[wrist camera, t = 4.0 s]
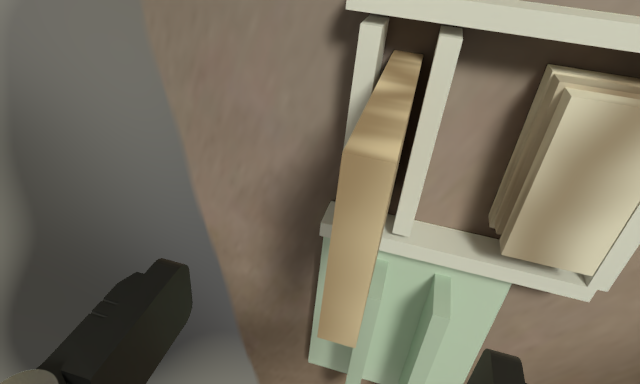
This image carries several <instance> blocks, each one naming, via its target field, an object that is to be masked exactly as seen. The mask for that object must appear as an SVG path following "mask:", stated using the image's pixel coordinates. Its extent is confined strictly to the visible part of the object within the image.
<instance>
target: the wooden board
mask: <svg viewBox="0 0 640 384" xmlns="http://www.w3.org/2000/svg"><path fill="white" fill-rule="evenodd" d="M422 59H423V54H417V53H410V52H404V51H398V50H394V51H393V53H392V55H391V57H390V59H389V61H388V63H387V65H386V67H385V69H384V71H383V73H382V75H381V77H380V79H379V81H378V83H377V85H376V87H375V89H374V91H373V93H372V95H371V97H370V99H369V101H368V103H367V104H366V106H365V108H364V110H363V112H362V114H361V116H360V118H359V120H358V122H357V124H356V126H355V128H354V130H353V132H352V134H351V136H350V138H349V140H348V142H347V144H346V146H345V148H344V150H343V152H342V159H341V166H340V173H339V181H338V188H337V195H336V203H335V210H334V217H333V225H332V232H331V239H330V247H329V254H328V261H327V268H326V276H325V283H324V290H323V298H322V305H321V312H320V320H319V327H318V334H317V337H318V338H321V339H325V340H328V341H332V342H335V343H338V344H342V345H345V346H349V347H352V348H356V344H357V340H358V336H359V331H360V327H361V323H362V319H363V315H364V310H365V306H366V302H367V298H368V294H369V289H370V285H371V281H372V277H373V272H374V268H375V264H376V260H377V256H378V251H379V247H380V243H381V239H382V234H383V230H384V226H385V222H386V218H387V213H388V209H389V205H390V201H391V197H392V192H393V188H394V184H395V179H396V175H397V170H398V166H399V161H400V157H401V153H402V148H403V144H404V139H405V135H406V130H407V126H408V122H409V117H410V113H411V108H412V104H413V99H414V95H415V90H416V86H417V82H418V77H419V73H420V68H421V64H422Z"/></svg>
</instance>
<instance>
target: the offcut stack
mask: <svg viewBox="0 0 640 384" xmlns="http://www.w3.org/2000/svg"><path fill="white" fill-rule="evenodd" d="M639 201H640V78H634V77H627V76H621V75H615V74H608V73H602V72H596V71H589V70H583V69H577V68H570V67H564V66H558V65H551V64H548V65H547V67H546V70H545V72H544V75H543V77H542V80H541V83H540V85H539V88H538V90H537V93H536V95H535V98H534V100H533V103H532V105H531V108H530V111H529V113H528V116H527V118H526V121H525V123H524V126H523V128H522V131H521V134H520V136H519V139H518V141H517V144H516V146H515V149H514V151H513V154H512V156H511V159H510V162H509V164H508V167H507V169H506V172H505V174H504V177H503V179H502V182H501V184H500V187H499V190H498V192H497V195H496V197H495V200H494V202H493V205H492V207H491V210H490V212H489V215H488V218H489V227H490V228H494V229H495V230H496V234H499V235H502V236H501V238H500V240H499V242H500V249H501V255H504V256H508V257H513V258H517V259H521V260H525V261H530V262H534V263H538V264H542V265H546V266H551V267H555V268H559V269H563V270H567V271H572V272H576V273H580V274H584V275H589V276H593V275H594V273H595V271H596V270H597V268H598V267H599V265H600V263H601V262H602V260H603V259H604V257H605V255H606V254H607V252H608V251H609V249H610V247H611V246H612V244H613V243H614V241H615V240H616V238H617V236H618V235H619V233H620V232H621V230H622V228H623V227H624V225H625V224H626V222H627V220H628V219H629V217H630V216H631V214H632V212H633V211H634V209H635V208H636V206H637V205H638V203H639Z"/></svg>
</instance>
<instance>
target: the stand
mask: <svg viewBox="0 0 640 384" xmlns="http://www.w3.org/2000/svg"><path fill="white" fill-rule="evenodd" d="M330 239H331V238H328V237H323V245H322V253H321V261H320V270H319V278H318V286H317V294H316V302H315V310H314V318H313V326H312V334H311V342H310V350H309V358H308V362H310V363H313V364H316V365H320V366H323V367H326V368H329V369H333V370H336V371H339V372H343V373H346V374H347V379H346V383H345V384H360V383H361V379H366V380H369V381H372V382H376V383H379V384H463V383H464V381H465V379H466V377H467V375H468V373H469V371H470V369H471V367H472V365H473V362H474V360H475V358H476V356H477V354H478V352H479V350H480V348H481V346H482V344H483V342H484V340H485V338H486V336H487V334H488V332H489V330H490V328H491V326H492V323H493V321H494V319H495V317H496V315H497V313H498V311H499V309H500V307H501V305H502V303H503V301H504V299H505V297H506V295H507V293H508V291H509V289H510V287H511V284H512V283H509V282H505V281H501V280H497V279H493V278H489V277H485V276H481V275H477V274H473V273H469V272H465V271H461V270H457V269H453V268H449V267H445V266H441V265H437V264H433V263H429V262H425V261H421V260H416V259H412V258H408V257H404V256H400V255H396V254H392V253H388V252H384V251H380V250H379V251H378V256H377V260H376V264H375V268H374V272H373V277H372V281H371V285H370V289H369V294H368V298H367V302H366V306H365V310H364V315H363V319H362V323H361V327H360V331H359V336H358V340H357V344H356V348H352V347H349V346H345V345H342V344H338V343H335V342H332V341H328V340H325V339H321V338H318V337H317V334H318V327H319V320H320V312H321V305H322V298H323V290H324V283H325V276H326V268H327V261H328V254H329V247H330Z"/></svg>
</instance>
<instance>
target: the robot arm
mask: <svg viewBox="0 0 640 384" xmlns="http://www.w3.org/2000/svg"><path fill="white" fill-rule="evenodd" d="M191 308H192V293H191V284H190V274H189V268H188V266H187V265H185V264H181V263H177V262H174V261H170V260H166V259H163V258H161V259H158V260H157V261H156V262H155V263H154V264H153V265H152V266H151V267H150V268H149V269H148V270H147V272H146V273H145V274H143V273H139V272H136V273H134V274H132V275H131V276H129V277H127V278H126V279H124V280H122V281H120V282H119V283H117V285H116V286H115V287H114V288H113V289H112V290H111V291H110V292H109V293H108V294H107V295H106V296H105V297H104V300H103V301H101V302H100V303H99V304H98V305H97V306H96V307H95V308H94V309H93V310H92V313H91V314H89V315H88V316H87V317H86V318H85V319H84V320H83V321H82V322H81V323H80V324H79V325H78V326H77V327H76V329H75V330H74V331H73V332H72V333H71V334H70V335H69V336H68V337H67V338H66V339H65V340H64V341H63V342H62V344H60V346H59V347H58V348H57V349H56V350H55V351H54V352H53V353H52V354H51V355H50V356H49V357H48V358H47V359H46V360H45V362H43V363H42V364H41V365H40V366H39V367H38V368H36V369H34V370H27V371H24V372H20V373H17V374H15V375H13V376H11V377H9V378H7V379H6V380H4V381H3V382H1V383H0V384H146V382H147V381H148V379H149V378H150V376H151V375H152V373H153V372H154V370H155V369H156V367H157V366H158V364H159V363H160V361H161V360H162V358H163V357H164V355H165V354H166V352H167V351H168V349H169V348H170V346H171V345H172V343H173V342H174V340H175V339H176V337H177V336H178V334H179V333H180V331H181V330H182V328H183V327H184V325H185V324H186V322H187V320H188V318H189V316H190V313H191ZM467 384H526V383H525V380H524V374H523V368H522V363H521V360H520V359H519V358H518V357H516V356H512V355H508V354H505V353H501V352H498V351H494V350H490V349H485V350H484V352H483V353H482V355H481V357H480V359H479V361H478V363H477V365H476V367H475V369H474V371H473V373H472V375H471V377H470V378H469V380H468V383H467Z"/></svg>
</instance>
